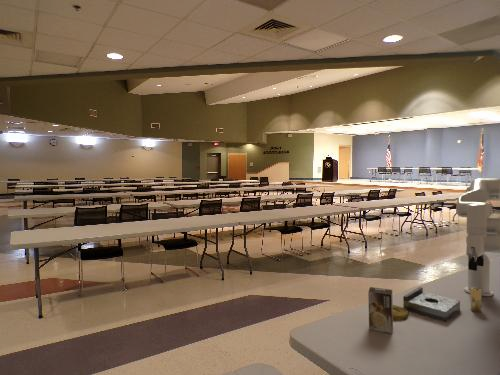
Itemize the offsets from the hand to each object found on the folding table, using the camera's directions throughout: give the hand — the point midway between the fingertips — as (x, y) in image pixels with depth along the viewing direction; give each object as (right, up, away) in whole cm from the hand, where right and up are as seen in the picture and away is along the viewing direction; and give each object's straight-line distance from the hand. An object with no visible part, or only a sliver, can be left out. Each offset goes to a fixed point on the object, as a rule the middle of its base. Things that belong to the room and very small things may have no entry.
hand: (476, 267), depth 152 cm
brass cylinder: (+1, -20, +1) cm, 20 cm away
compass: (-39, -21, -1) cm, 44 cm away
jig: (-19, -20, +2) cm, 28 cm away
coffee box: (-50, -22, -14) cm, 56 cm away
